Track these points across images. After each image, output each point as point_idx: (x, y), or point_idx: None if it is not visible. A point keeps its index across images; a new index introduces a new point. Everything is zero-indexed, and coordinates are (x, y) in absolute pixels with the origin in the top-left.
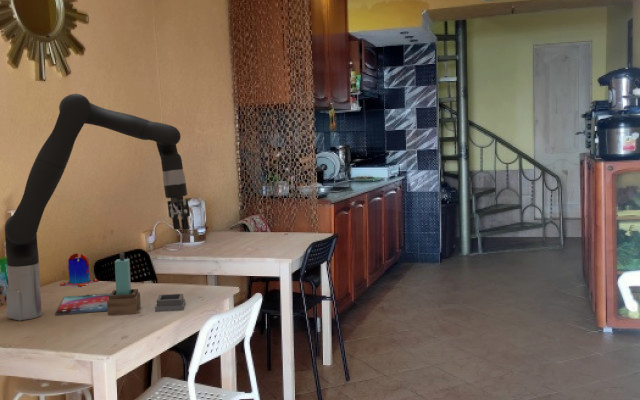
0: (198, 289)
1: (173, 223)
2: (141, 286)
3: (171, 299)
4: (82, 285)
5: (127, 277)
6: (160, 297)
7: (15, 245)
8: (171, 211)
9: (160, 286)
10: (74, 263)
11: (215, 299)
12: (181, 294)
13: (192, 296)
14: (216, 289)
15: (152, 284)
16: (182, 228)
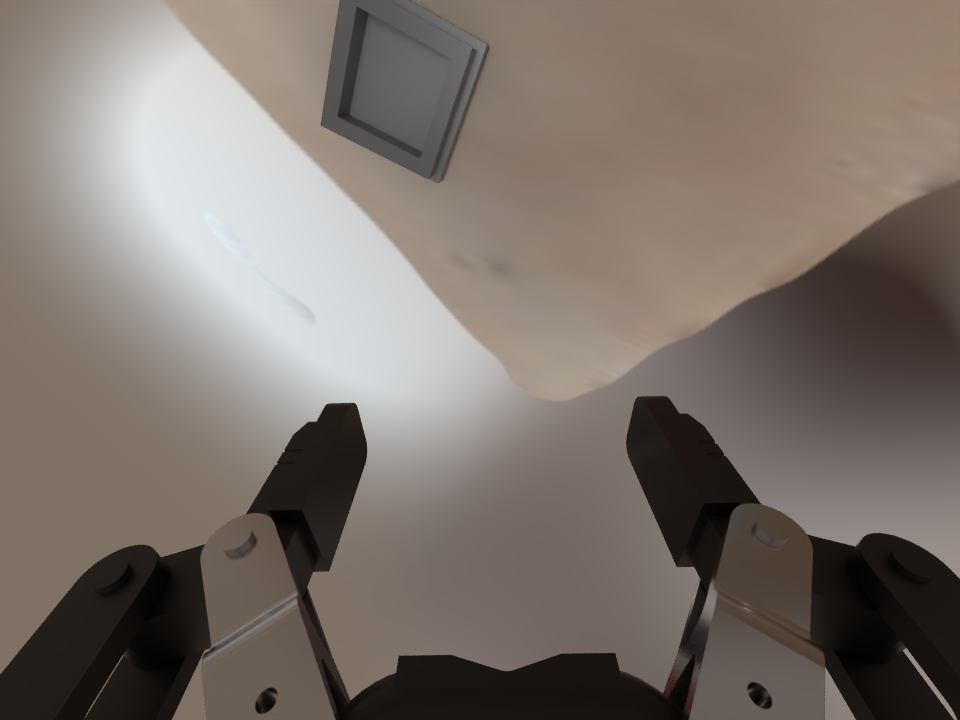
0: (620, 309)
1: (676, 450)
2: (954, 90)
3: (341, 77)
4: None
5: None
6: (407, 29)
7: None
8: (725, 681)
9: (830, 192)
10: None
11: (438, 298)
12: (418, 165)
13: (531, 247)
14: (570, 356)
15: (920, 169)
16: (339, 408)
